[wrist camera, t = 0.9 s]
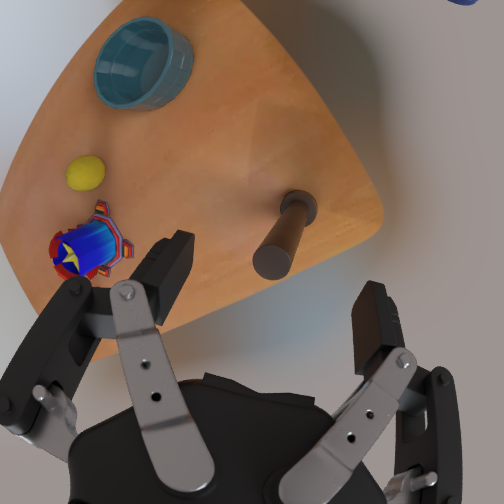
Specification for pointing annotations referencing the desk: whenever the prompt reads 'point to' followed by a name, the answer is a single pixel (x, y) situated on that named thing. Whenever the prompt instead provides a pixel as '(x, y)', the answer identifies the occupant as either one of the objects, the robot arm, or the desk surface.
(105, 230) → the fantasy tower
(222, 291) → the desk surface
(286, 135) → the desk surface
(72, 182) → the lemon
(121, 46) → the bowl
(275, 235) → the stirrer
